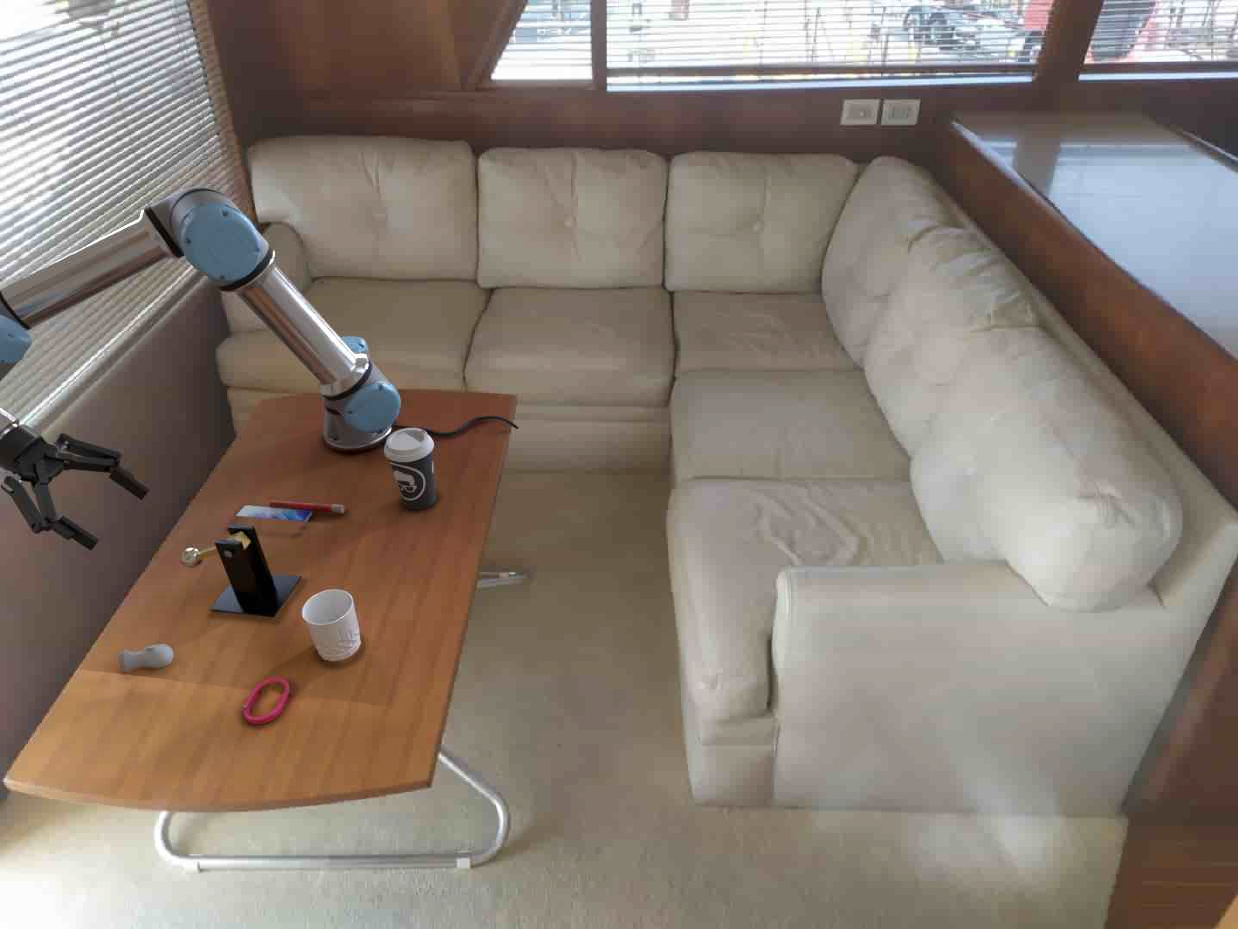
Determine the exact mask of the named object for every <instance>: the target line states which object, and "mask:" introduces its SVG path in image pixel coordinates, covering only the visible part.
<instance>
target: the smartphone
mask: <svg viewBox="0 0 1238 929" xmlns="http://www.w3.org/2000/svg"><path fill="white" fill-rule="evenodd" d="M312 515H313V511H311V510H300V509H286V508H285V509H284V508H271V507H270V506H265V505H255V504H252V505H251V504H244V505H242V507H241V508H240V509H238V511H237V512H236V513H235V515H234V517H235V516H236V517H246V518H247V517H248V518H257V519H270V520H280V521H294V522H304V523H308V521H309V520H310V518H311V517H312Z"/></svg>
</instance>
